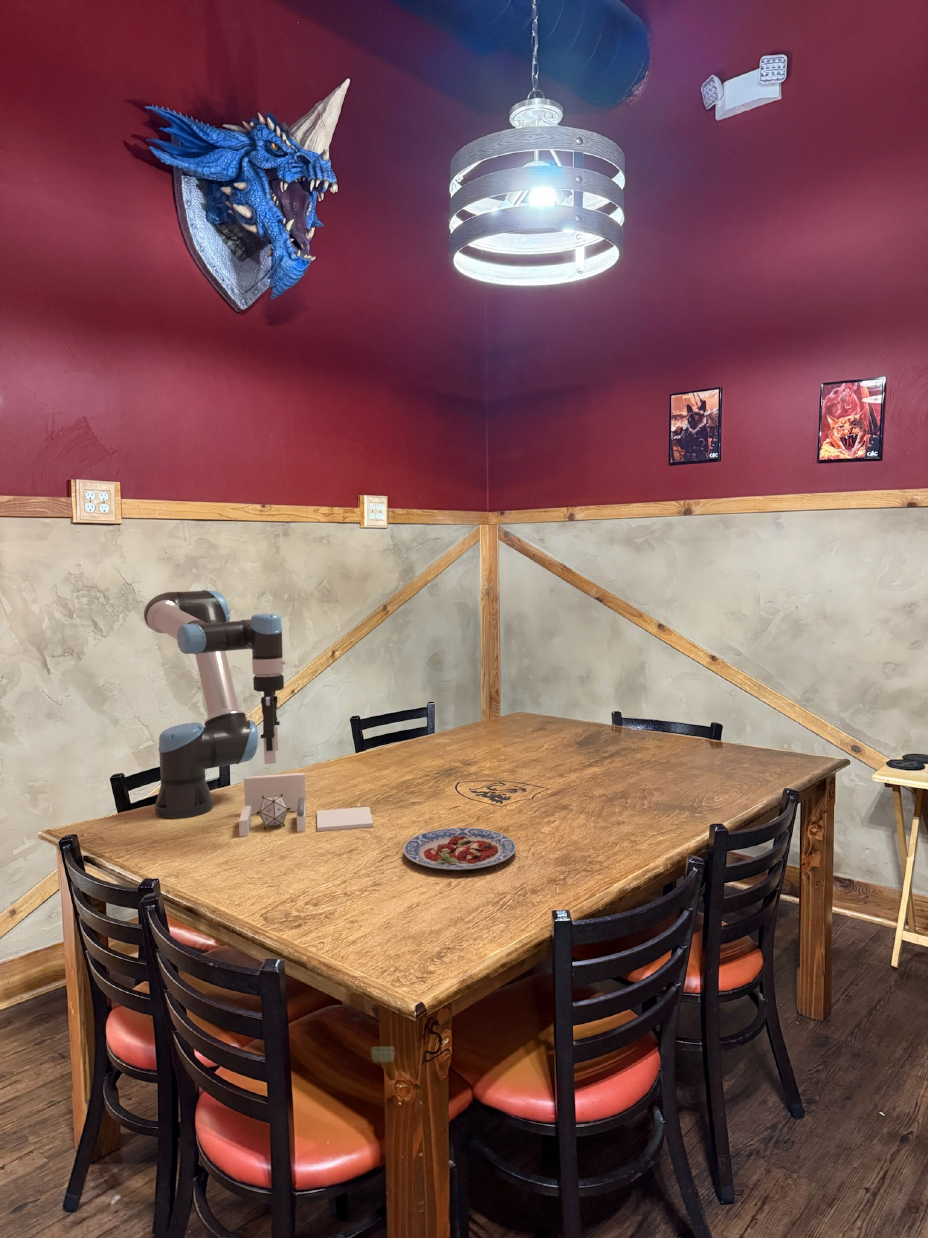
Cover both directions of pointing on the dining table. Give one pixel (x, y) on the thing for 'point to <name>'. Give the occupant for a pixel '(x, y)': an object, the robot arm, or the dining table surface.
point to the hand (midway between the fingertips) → (271, 757)
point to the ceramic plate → (459, 848)
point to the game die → (273, 811)
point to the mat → (344, 819)
